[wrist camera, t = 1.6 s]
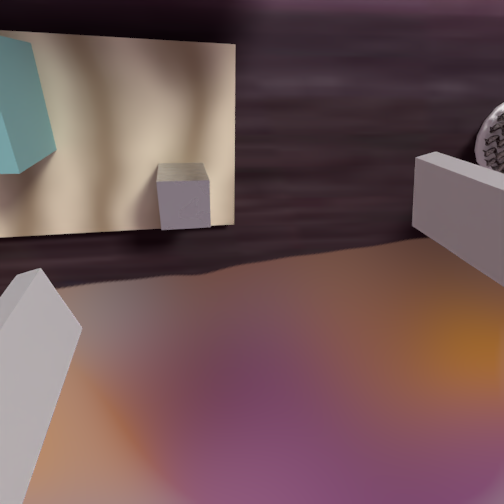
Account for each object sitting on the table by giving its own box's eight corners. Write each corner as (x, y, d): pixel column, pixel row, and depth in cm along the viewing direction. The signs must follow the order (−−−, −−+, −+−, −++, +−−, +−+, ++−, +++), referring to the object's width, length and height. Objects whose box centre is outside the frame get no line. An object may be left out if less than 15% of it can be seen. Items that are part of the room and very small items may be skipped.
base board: (-22, 232, 30) (-30, 239, 29) (-104, 26, 23) (-120, 23, 22) (231, 219, 35) (234, 224, 34) (232, 45, 28) (235, 44, 27)
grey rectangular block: (163, 204, 31) (161, 230, 26) (158, 163, 30) (156, 181, 24) (204, 203, 32) (210, 227, 27) (202, 162, 30) (209, 180, 25)
